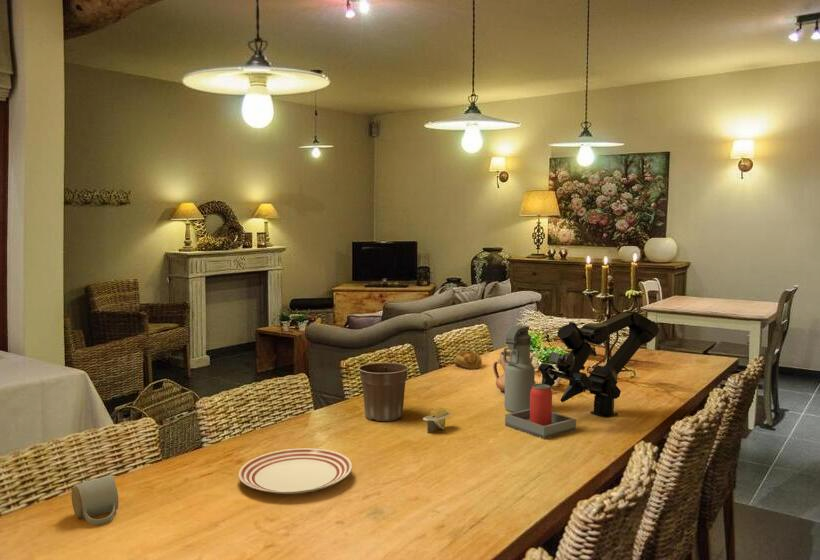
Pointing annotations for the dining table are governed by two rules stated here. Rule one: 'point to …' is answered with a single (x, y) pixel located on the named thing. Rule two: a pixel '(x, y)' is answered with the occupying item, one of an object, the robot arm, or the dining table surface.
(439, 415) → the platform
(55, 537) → the dining table surface
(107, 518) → the ceramic mug
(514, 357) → the water bottle
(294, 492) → the dinner plate
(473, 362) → the bread roll
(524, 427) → the tray
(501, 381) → the ceramic jug
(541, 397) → the beer can
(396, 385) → the plant pot
